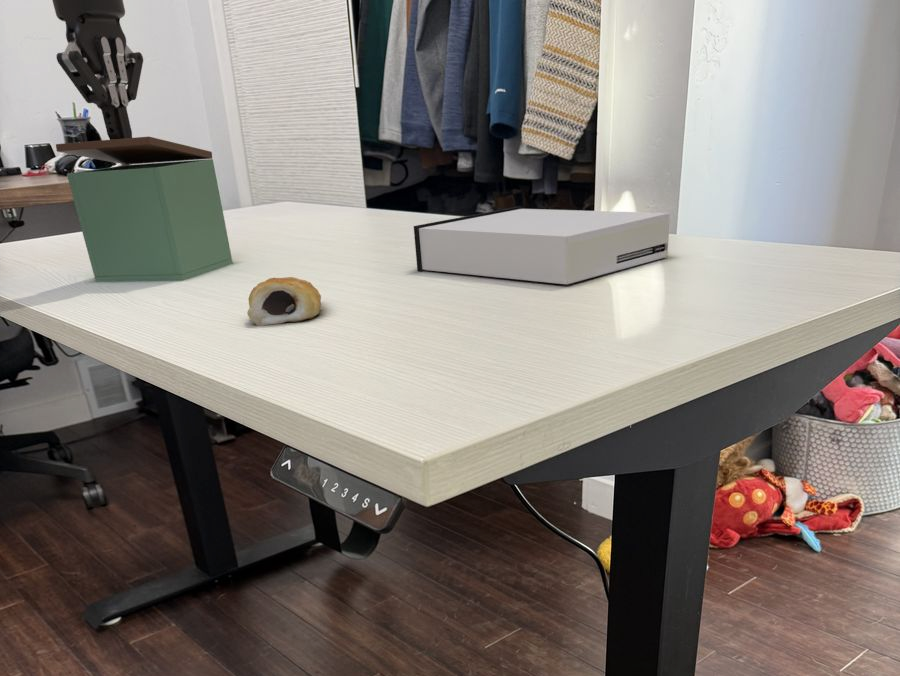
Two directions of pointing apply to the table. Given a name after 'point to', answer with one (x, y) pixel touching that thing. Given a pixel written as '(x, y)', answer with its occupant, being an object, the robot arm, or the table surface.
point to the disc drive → (542, 243)
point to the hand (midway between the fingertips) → (122, 143)
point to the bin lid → (134, 150)
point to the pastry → (283, 301)
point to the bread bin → (152, 221)
